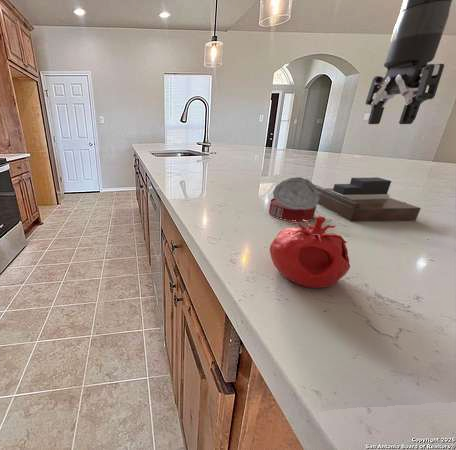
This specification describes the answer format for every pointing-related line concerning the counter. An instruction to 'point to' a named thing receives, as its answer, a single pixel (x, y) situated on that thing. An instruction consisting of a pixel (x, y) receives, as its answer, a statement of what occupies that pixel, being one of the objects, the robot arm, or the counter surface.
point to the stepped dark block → (364, 188)
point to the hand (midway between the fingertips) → (388, 124)
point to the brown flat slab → (367, 207)
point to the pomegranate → (310, 255)
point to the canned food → (294, 200)
